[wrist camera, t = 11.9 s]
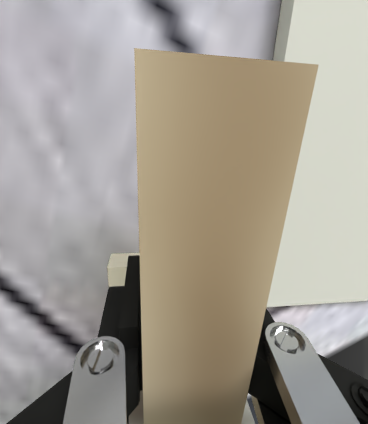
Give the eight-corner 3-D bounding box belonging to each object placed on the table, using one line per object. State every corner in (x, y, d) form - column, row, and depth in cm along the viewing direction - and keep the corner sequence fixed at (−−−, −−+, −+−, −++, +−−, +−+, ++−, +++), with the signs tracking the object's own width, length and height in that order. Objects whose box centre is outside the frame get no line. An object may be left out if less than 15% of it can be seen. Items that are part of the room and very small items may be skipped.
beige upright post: (109, 388, 13) (90, 531, 9) (79, 81, 8) (-16, 35, 3) (231, 374, 14) (271, 495, 10) (279, 94, 9) (420, 73, 4)
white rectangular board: (237, 296, 21) (243, 308, 20) (292, -73, 13) (310, -96, 11) (378, 288, 23) (392, 299, 22) (507, -38, 15) (545, -54, 13)
